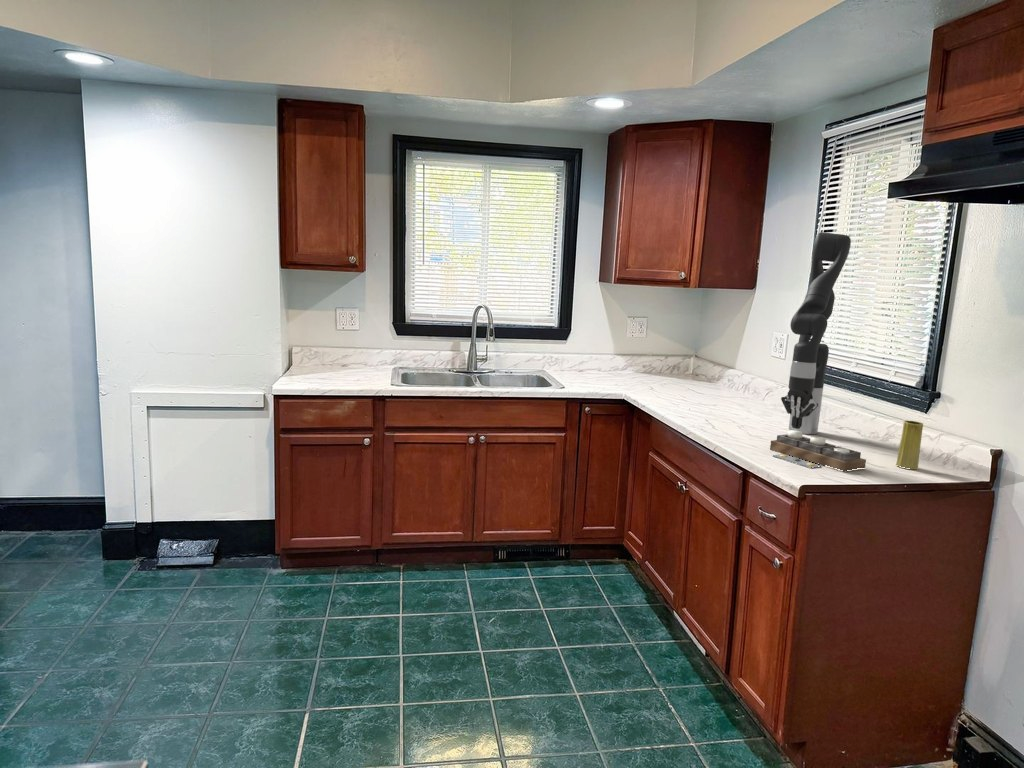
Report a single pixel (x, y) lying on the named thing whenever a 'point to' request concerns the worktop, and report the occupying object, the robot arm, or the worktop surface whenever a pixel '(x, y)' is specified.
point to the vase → (910, 445)
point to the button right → (842, 450)
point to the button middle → (817, 441)
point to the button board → (818, 453)
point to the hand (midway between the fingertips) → (796, 428)
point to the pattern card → (796, 460)
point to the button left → (794, 434)
